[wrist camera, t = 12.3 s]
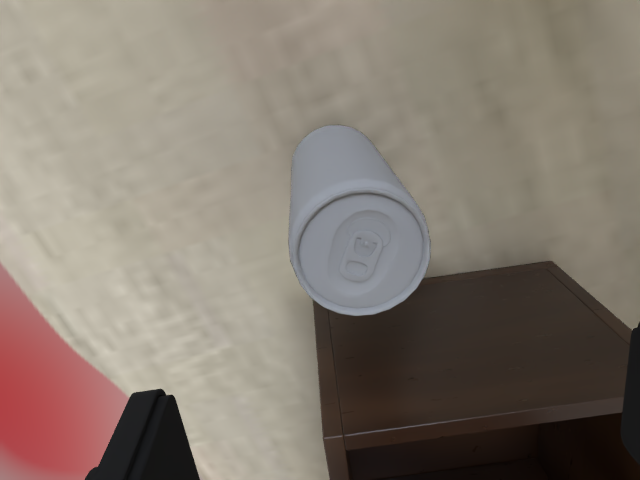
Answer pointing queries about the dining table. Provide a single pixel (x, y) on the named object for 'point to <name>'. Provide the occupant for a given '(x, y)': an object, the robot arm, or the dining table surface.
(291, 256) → the beverage can
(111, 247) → the dining table surface
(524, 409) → the chest
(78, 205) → the dining table surface
